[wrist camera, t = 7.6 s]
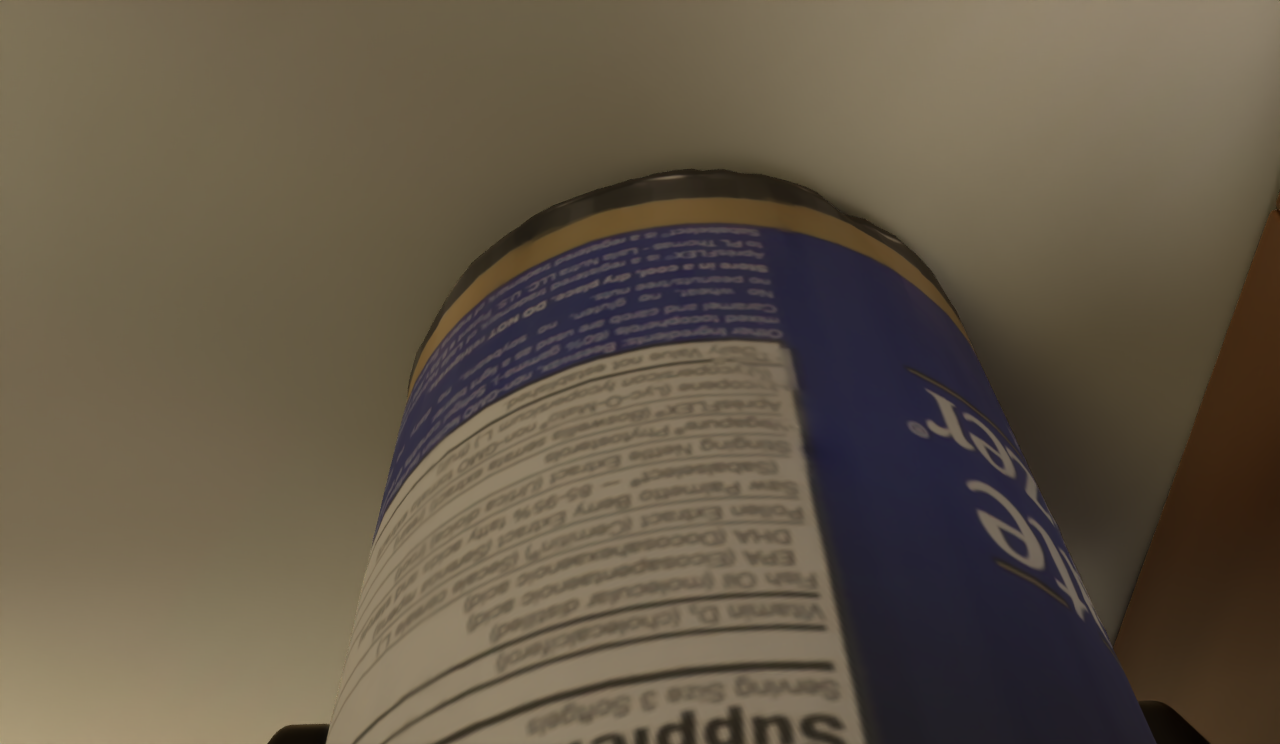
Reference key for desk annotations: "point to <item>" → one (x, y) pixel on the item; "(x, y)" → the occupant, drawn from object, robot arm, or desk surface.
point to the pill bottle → (715, 500)
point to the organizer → (1221, 540)
